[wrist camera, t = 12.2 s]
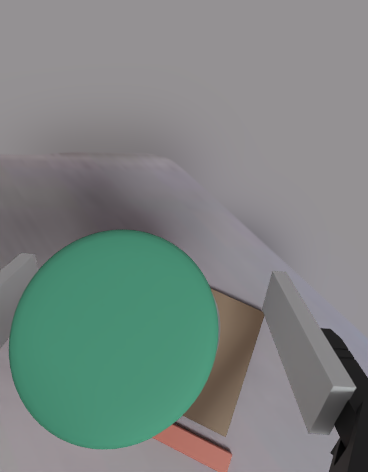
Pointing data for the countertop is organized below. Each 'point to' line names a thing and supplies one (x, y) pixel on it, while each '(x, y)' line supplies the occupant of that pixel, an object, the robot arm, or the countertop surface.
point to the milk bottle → (113, 339)
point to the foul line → (195, 447)
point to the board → (227, 364)
